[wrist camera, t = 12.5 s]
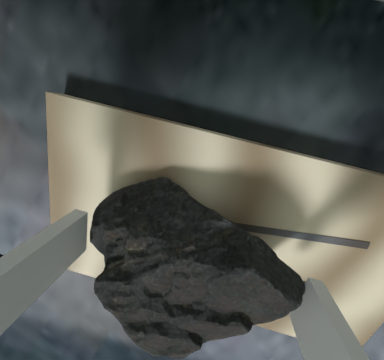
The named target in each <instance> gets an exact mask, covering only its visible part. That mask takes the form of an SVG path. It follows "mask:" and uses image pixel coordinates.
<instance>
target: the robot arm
mask: <svg viewBox="0 0 384 360" xmlns="http://www.w3.org/2000/svg"><path fill="white" fill-rule="evenodd" d="M87 221H88V212H84V211H81V210H78V209H75V210H73V211H72V212H70V213H69V214H67V215H66V216H64V217H62V218H61V219H59V220H58V221H56V222H55V223H53V224H52V225H50V226H49V227H47V228H45V229H44V230H42V231H41V232H39V233H38V234H36V235H35V236H33V237H32V238H30V239H28V240H27V241H25V242H24V243H22V244H21V245H19V246H18V247H16V248H15V249H13V250H11V251H10V252H8V253H7V254H5V255H1V254H0V335H1V334H2V333H3V332H4V331H5V330H6V329H7V328H8V327H9V326H10V325H11V324H12V323H13V322H14V321H15V320H16V319H17V318H18V317H19V316H20V315H21V314H22V313H23V312H24V311H25V310H26V309H27V308H28V307H29V306H30V305H31V304H32V303H33V302H34V301H35V300H36V299H37V298H38V297H39V296H40V295H41V294H42V293H43V292H44V291H45V290H46V289H47V288H48V287H49V286H50V285H51V284H52V283H53V282H54V281H55V280H56V279H57V278H59V277H60V276H61V275H62V274H63V273H64V272H65V271H66V270H67V269H68V268H69V267H70V266H71V265H72V264H73V263H74V262H75V261H76V260H77V259H78V258H79V257H80V256H81V255H82V254H83V253H84V252H85V251H86V245H87ZM289 316H290V319H291V322H292V325H293V328H294V331H295V334H296V337H297V340H298V343H299V346H300V349H301V352H302V355H303V358H304V360H369V358H368V356H367V355H366V353H365V351H364V350H363V348H362V346H361V344H360V343H359V341H358V339H357V338H356V336H355V334H354V333H353V331H352V329H351V328H350V326H349V324H348V323H347V321H346V319H345V318H344V316H343V314H342V313H341V311H340V309H339V308H338V306H337V304H336V303H335V301H334V299H333V298H332V296H331V294H330V293H329V291H328V289H327V288H326V286H325V284H324V283H323V281H320V280H317V279H313V278H310V277H308V279H307V280H306V282H305V292H304V294H303V301H302V303H301V306H300V307H298V308H297V309H296V310H294V311H292V312H290V313H289Z"/></svg>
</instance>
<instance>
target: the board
mask: <svg viewBox="0 0 384 360" xmlns="http://www.w3.org/2000/svg"><path fill="white" fill-rule="evenodd" d="M46 114H47V141H48V168H49V194H50V221H51V225H52V224H53V223H55V222H56V221H58V220H59V219H61V218H62V217H64V216H66V215H67V214H69V213H70V212H72V211H73V210H75V209H78V210H81V211H84V212H88V221H87V245H86V251H85V252H84V253H83V254H82V255H81V256H80V257H79V258H78V259H77V260H76V261H75V262H74V263H73V264H72V265H71V266H70V267H69V268H68V269H67V270H71V271H74V272H78V273H81V274H84V275H88V276H91V277H94V278H96V277H97V276H98V275H100V274H101V273H102V272H103V270H104V267H105V262H104V255H103V254H101V253H100V252H99V251H98V250H97V249H96V248H95V246H94V245H93V244H92V243H91V242H90V229H91V225H92V220H93V214H94V211H95V209H96V207H97V206H98V205H99V203H101V202H102V201H103V200H104V199H105V198H106V197H108V196H109V195H110V194H111V193H113V192H114V191H117V190H119V189H121V188H123V187H126V186H129V185H133V184H137V183H139V182H142V181H146V180H149V179H157V178H158V177H167V178H169V179H170V180H172V181H171V182H174V183H176V184H178V185H179V186H181V187H182V188H183V189H185V190H186V191H187V192H188V193H189V195H190V196H191V197H193V198H194V199H195V200H197V201H198V202H199V203H201V204H202V205H204V206H206V207H207V208H210V209H212V210H214V211H216V212H217V213H218V214H220V215H221V216H222V217H224V218H226V219H228V220H230V221H232V222H233V223H234V224H236V225H237V226H238V227H241V228H243V229H245V230H246V231H247V232H248V233H250V234H251V235H254V236H258V237H260V238H261V239H262V240H264V241H265V242H266V243H267V244H268V245H269V246H270V248H271V249H272V250H273V251H274V252H275V253H276V255H277V257H278V258H279V259H280V260H282V261H283V262H284V263H285V264H287V265H288V266H289V267H291V268H292V269H293V270H294V271H295V272H296V273H298V274H299V275H300V276H301V278H302V281H303V282H304V283H305V282H306V280H307V279H308V277H310V278H313V279H317V280H320V281H323V283H324V284H325V286H326V288H327V289H328V291H329V293H330V294H331V296H332V298H333V299H334V301H335V303H336V304H337V306H338V308H339V309H340V311H341V313H342V314H343V316H344V318H345V319H346V321H347V323H348V324H349V326H350V328H351V329H352V331H353V333H354V334H355V336H356V338H357V339H358V341H359V343H360V344H361V346H363V345H364V344H365V343H366V342H367V340H368V339H369V338H370V337H371V336H372V335H373V333H374V332H375V331H376V330H377V329H378V328H379V326H380V325H381V324H382V323H383V322H384V174H383V173H379V172H375V171H371V170H367V169H363V168H359V167H355V166H351V165H347V164H343V163H339V162H335V161H331V160H327V159H323V158H318V157H314V156H310V155H306V154H302V153H298V152H294V151H290V150H286V149H282V148H278V147H274V146H270V145H266V144H262V143H258V142H254V141H250V140H246V139H242V138H238V137H234V136H230V135H226V134H222V133H218V132H214V131H210V130H206V129H202V128H198V127H194V126H190V125H186V124H182V123H178V122H174V121H170V120H166V119H162V118H158V117H154V116H150V115H146V114H142V113H138V112H134V111H130V110H126V109H122V108H118V107H114V106H110V105H106V104H102V103H98V102H94V101H90V100H86V99H82V98H78V97H74V96H70V95H66V94H60V93H52V92H46ZM256 326H259V327H263V328H266V329H269V330H273V331H276V332H280V333H283V334H286V335H290V336H293V337H296V334H295V331H294V328H293V325H292V322H291V319H290V316H289V314H288V315H287V316H285V317H283V318H280V319H277V320H275V321H272V322H268V323H263V324H257V325H256ZM296 338H297V337H296Z"/></svg>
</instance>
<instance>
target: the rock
mask: <svg viewBox="0 0 384 360" xmlns="http://www.w3.org/2000/svg"><path fill="white" fill-rule="evenodd" d="M171 181H172V180H170V179H169V178H167V177H158V178H157V179H149V180H146V181H142V182H139V183H137V184H133V185H129V186H126V187H123V188H121V189H119V190H117V191H114V192H113V193H111V194H110V195H109V196H108V197H106V198H105V199H104V200H103V201H102V202H101V203H99V205H98V206H97V207H96V209H95V211H94V214H93V220H92V225H91V229H90V242H91V243H92V244H93V245H94V246H95V248H96V249H97V250H98V251H99V252H100V253H101V254H103V255H104V262H105V267H104V270H103V272H102V273H101V274H100V275H98V276H97V277H96V279H95V283H94V292H95V294H96V295H97V297H98V299H99V300H100V301H101V303H102V305H103V307H104V308H105V309H106V310H108V311H109V312H110V313H112V314H113V315H114V316H115V317H116V318H117V319H118V321H119V322H120V323H121V325H122V327H123V329H124V331H125V332H126V334H127V335H128V336H129V337H130V338H131V339H132V341H133V342H134V343H135V344H136V345H138V346H139V347H140V348H142V349H143V350H145V351H146V352H148V353H150V354H151V355H153V356H155V357H161V356H167V357H170V358H175V359H182V358H184V357H186V356H188V355H189V354H191V353H193V352H195V351H197V350H200V348H201V346H202V344H203V343H205V342H208V341H212V340H218V339H224V338H228V337H232V336H238V335H243V334H247V333H248V332H249V331H250V330H251V328H252V325H257V324H263V323H268V322H272V321H275V320H277V319H280V318H283V317H285V316H287V315H288V314H289V313H290V312H292V311H294V310H296V309H297V308H298V307H300V306H301V303H302V301H303V294H304V292H305V283H304V282H303V281H302V278H301V276H300V275H299V274H298V273H296V272H295V271H294V270H293V269H292V268H291V267H289V266H288V265H287V264H285V263H284V262H283V261H282V260H280V259H279V258H278V257H277V255H276V253H275V252H274V251H273V250H272V249H271V248H270V246H269V245H268V244H267V243H266V242H265V241H264V240H262V239H261V238H260V237H258V236H254V235H251V234H250V233H248V232H247V231H246V230H245V229H243V228H241V227H238V226H237V225H236V224H234V223H233V222H232V221H230V220H228V219H226V218H224V217H222V216H221V215H220V214H218V213H217V212H216V211H214V210H212V209H210V208H207V207H206V206H204V205H202V204H201V203H199V202H198V201H197V200H195V199H194V198H193V197H191V196H190V195H189V193H188V192H187V191H186V190H185V189H183V188H182V187H181V186H179V185H178V184H176V183H174V182H171Z"/></svg>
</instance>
